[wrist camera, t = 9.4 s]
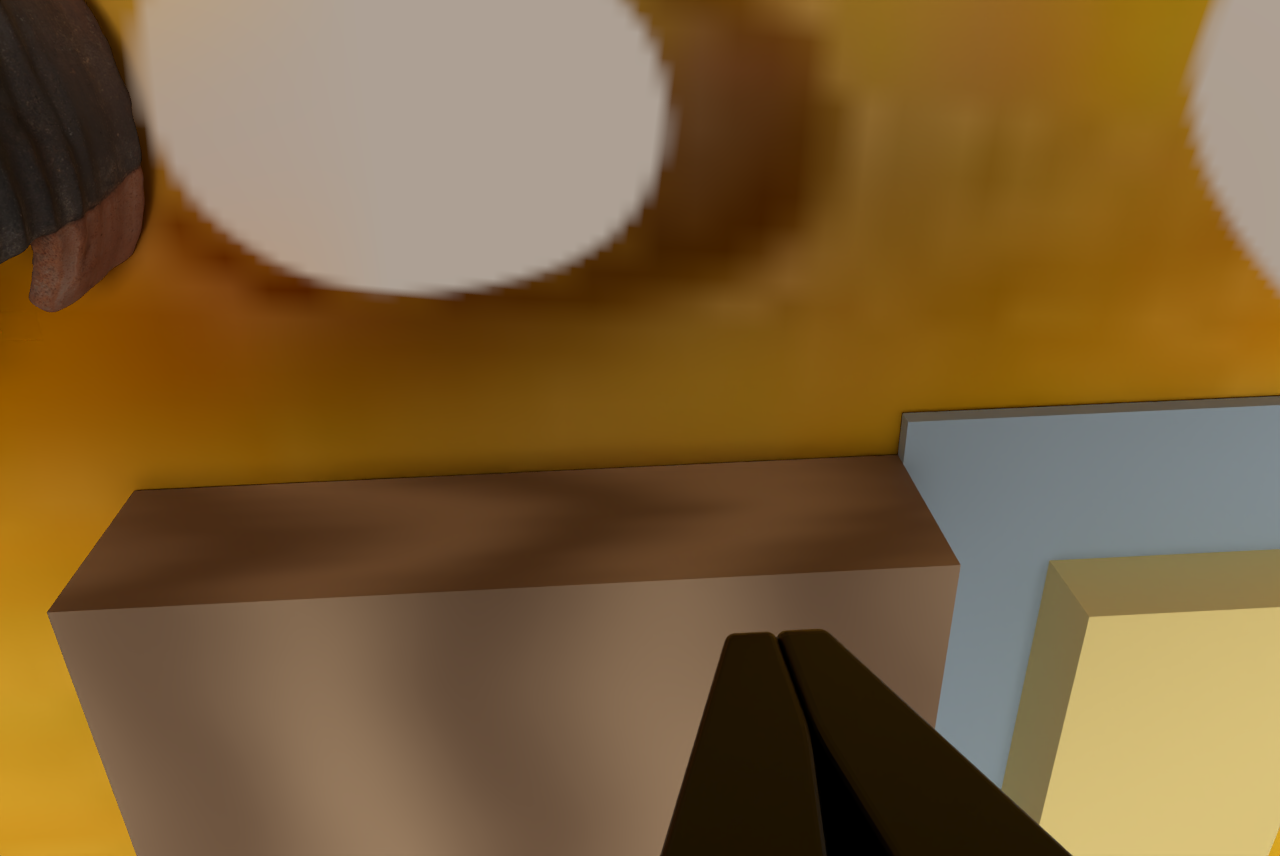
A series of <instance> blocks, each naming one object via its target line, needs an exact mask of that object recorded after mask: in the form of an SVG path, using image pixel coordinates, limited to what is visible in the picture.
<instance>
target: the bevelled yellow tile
mask: <svg viewBox="0 0 1280 856" xmlns="http://www.w3.org/2000/svg"><path fill="white" fill-rule="evenodd" d="M1001 790H1002V791H1003V792H1004V793H1005V794H1006V795H1007V796H1008V797H1009V798H1010V799H1012V800H1013V801H1014V802H1015V803H1016V804H1017V805H1018V806H1019V807H1020V808H1021V809H1022V810H1024V811H1025V812H1026V813H1027V814H1028V815H1029V816H1030V817H1031V818H1032V819H1033V820H1034V821H1036V822H1037V823H1038V824H1039V825H1040V826H1041V827H1042V828H1043V829H1044V830H1045V831H1046V832H1048V833H1049V834H1050V835H1051V836H1052V837H1053V838H1054V839H1055V840H1056V841H1057V842H1058V843H1060V844H1061V845H1062V846H1063V847H1064V848H1065V849H1066V850H1067V851H1068V852H1069V853H1070V854H1072V855H1073V856H1268V855H1269V852H1270V850H1271V847H1272V845H1273V842H1274V840H1275V837H1276V835H1277V832H1278V830H1279V827H1280V549H1271V550H1251V551H1231V552H1211V553H1190V554H1170V555H1150V556H1130V557H1109V558H1089V559H1069V560H1050V561H1049V565H1048V570H1047V575H1046V580H1045V584H1044V589H1043V594H1042V599H1041V603H1040V608H1039V613H1038V618H1037V622H1036V627H1035V632H1034V637H1033V641H1032V646H1031V651H1030V656H1029V660H1028V665H1027V670H1026V675H1025V679H1024V684H1023V689H1022V694H1021V698H1020V703H1019V708H1018V713H1017V717H1016V722H1015V727H1014V732H1013V736H1012V741H1011V746H1010V751H1009V755H1008V760H1007V765H1006V770H1005V774H1004V779H1003V784H1002V789H1001Z"/></svg>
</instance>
